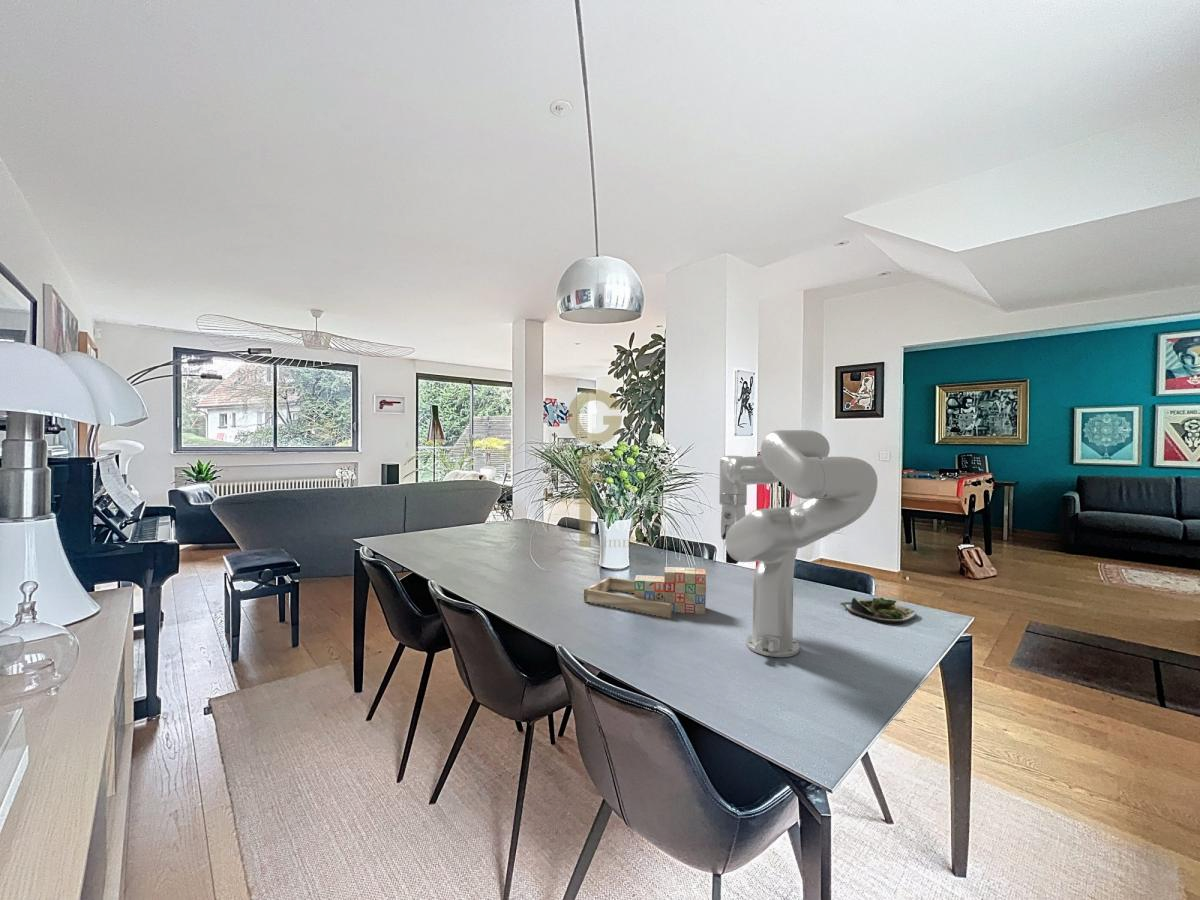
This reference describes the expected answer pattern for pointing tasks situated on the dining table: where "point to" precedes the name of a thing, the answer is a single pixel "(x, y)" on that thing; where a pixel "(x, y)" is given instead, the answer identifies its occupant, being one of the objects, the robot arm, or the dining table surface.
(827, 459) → the robot arm
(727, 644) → the dining table surface
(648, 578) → the stack of blocks
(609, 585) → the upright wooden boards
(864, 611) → the salad plate
